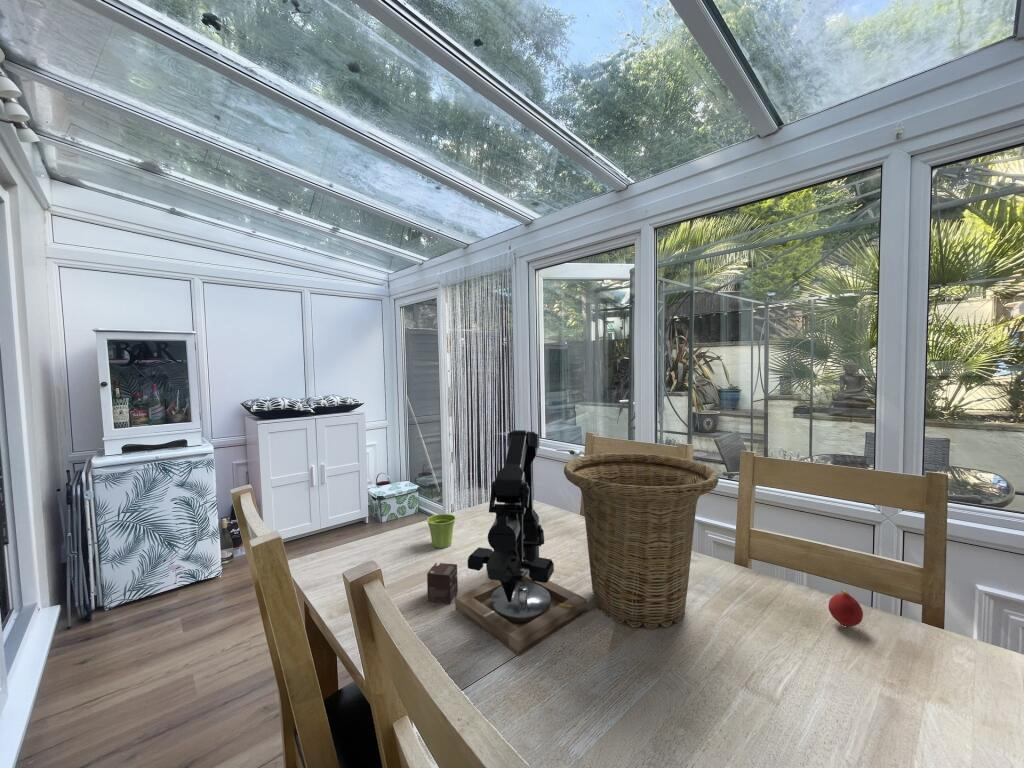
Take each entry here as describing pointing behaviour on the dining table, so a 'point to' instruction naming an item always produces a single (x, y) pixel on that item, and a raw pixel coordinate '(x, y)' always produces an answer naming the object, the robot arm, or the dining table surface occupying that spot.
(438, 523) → the plant pot
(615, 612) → the wicker basket
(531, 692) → the dining table surface
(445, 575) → the box
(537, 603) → the grey metal bowl
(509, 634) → the square wooden tray
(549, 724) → the dining table surface
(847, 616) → the onion
